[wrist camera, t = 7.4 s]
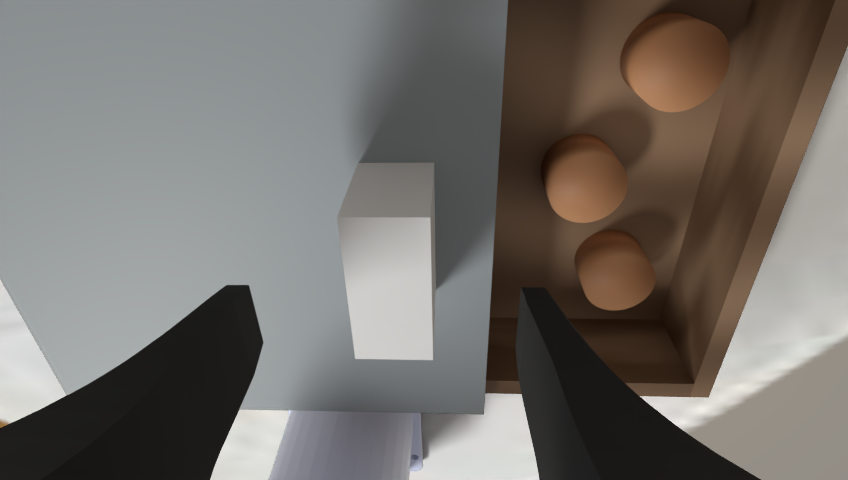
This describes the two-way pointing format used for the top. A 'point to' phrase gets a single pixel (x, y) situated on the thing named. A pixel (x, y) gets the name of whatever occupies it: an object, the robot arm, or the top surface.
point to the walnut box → (650, 171)
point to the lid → (259, 187)
